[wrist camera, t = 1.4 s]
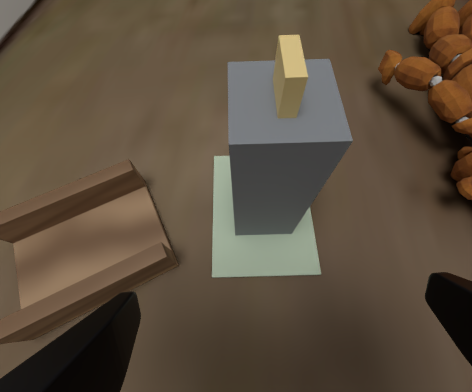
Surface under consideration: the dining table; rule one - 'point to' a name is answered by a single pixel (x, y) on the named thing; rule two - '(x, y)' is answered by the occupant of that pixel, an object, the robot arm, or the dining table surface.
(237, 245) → the sage mat
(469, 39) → the toy
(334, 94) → the slate block
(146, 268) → the walnut rack
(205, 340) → the dining table surface
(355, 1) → the dining table surface
